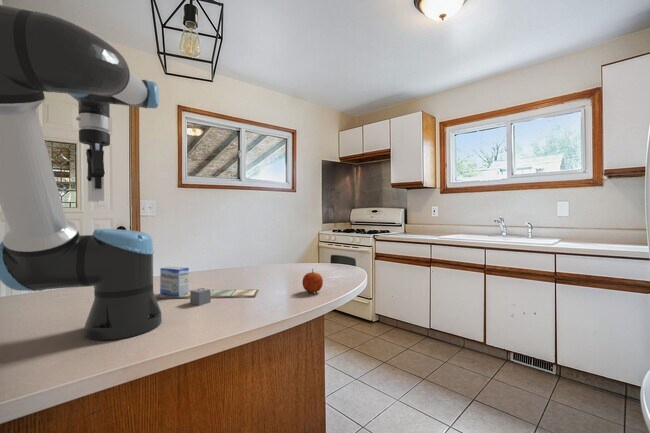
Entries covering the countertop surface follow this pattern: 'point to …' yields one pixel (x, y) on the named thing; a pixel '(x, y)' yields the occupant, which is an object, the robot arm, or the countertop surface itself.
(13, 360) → the countertop surface
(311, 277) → the fruit
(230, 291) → the board
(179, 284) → the medicine box
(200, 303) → the grey toy brick
